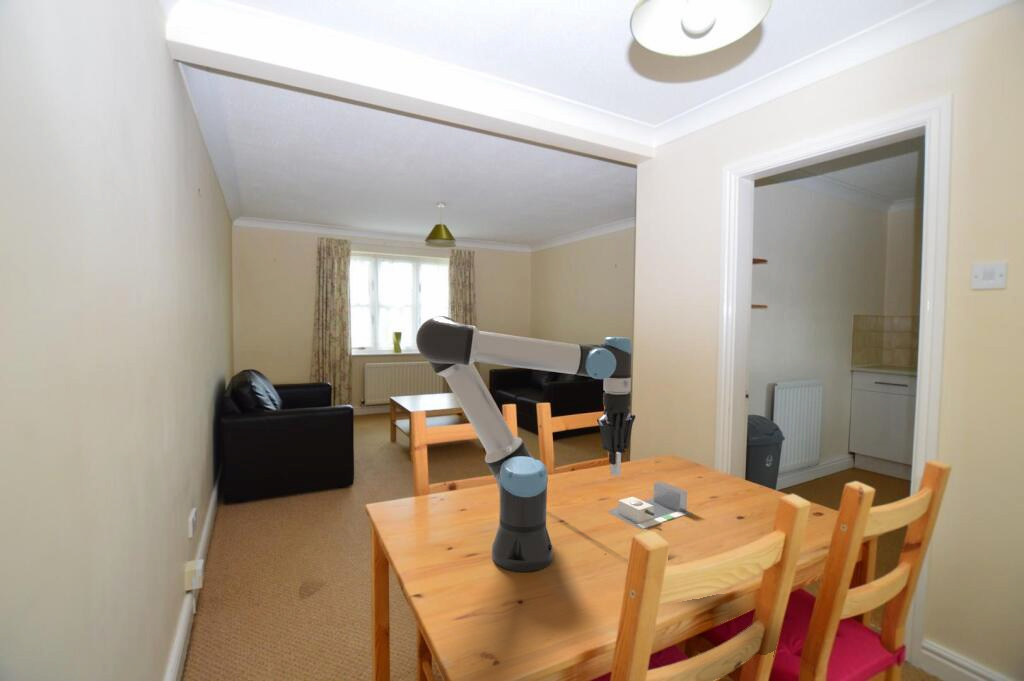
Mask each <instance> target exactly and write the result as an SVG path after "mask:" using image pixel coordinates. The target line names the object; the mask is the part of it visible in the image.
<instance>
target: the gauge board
mask: <svg viewBox="0 0 1024 681" xmlns="http://www.w3.org/2000/svg"><path fill="white" fill-rule="evenodd" d="M653 500H654V497H652V498H647V499H645V500H643V501H644V502H646V503H648V504H651V505H653V513H654V516H653V519H652V520H649V521H646V522H642V523H639V524H638V523H636V522H634V521H632V520H630V519H628V518H626V517H624V516H622V515H620V514H618V507H616V508H612V509H609V510H606V513H608V514H610V515H612V516H615V518H618V519H621V520H622V521H624V522H626V523H628V524H629V525H632V526H633V527H635V528H637V529H639V530H645V529H648V528H652V527H654V526H657V525H659V524H660V525H661V524H664V523H666V522H670V521H672V520H676V519H678V518H681V517H685V516H687V515H690V514H693V512H691V511H689V510H686V511H684V512H677V511H674V510H672V509H670V508H667V507H665V506H663V505H661V504H658V503H656V502H654V501H653Z"/></svg>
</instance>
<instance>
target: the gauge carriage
mask: <svg viewBox="0 0 1024 681" xmlns="http://www.w3.org/2000/svg"><path fill="white" fill-rule="evenodd" d="M617 508H618V514H620V515H622V516H624V517H626V518H628V519H630V520H632V521H634V522H636V523H638V524H639V523H642V522H646V521H649V520H652V519H653V516H654V513H653V505H651V504H648V503H646V502H644V500H642V499H640V498H637V497H635V496H630V497H626V498H621V499H619V500H618V507H617Z"/></svg>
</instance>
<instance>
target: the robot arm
mask: <svg viewBox="0 0 1024 681" xmlns="http://www.w3.org/2000/svg"><path fill="white" fill-rule="evenodd" d="M415 340H416V341H415V343H416V348H417V350H418V352H419V353H420V355H421V356H422V357H423V358H424V359H425V360H427V361H428V363H429V364H430V366H431V368H432V370H433V371H434V373H435V375H436V376H437V375H438V376H441V377H443V378H444V379H445V381H446V383H447V384H448V386H449V388H450V389H451V392H452V393H453V395H454V397H455V398H456V400H457V402H458V403H459V406H460V407H461V409H462V411H463V412H464V415H465V417H466V418H467V420H468V421H469V423H470V425H471V427H472V428H473V430H474V432H475V434H476V435H477V437H478V439H479V441H480V443H481V445H482V446H483V448H484V449H485V452H486V454H485V458H484V461H485V463H486V465H487V467H488V469H489V470H490V472H491V474H492V475H493V477H494V480H495V481H496V484H497V489H498V492H499V522H498V523H499V524H498V528H497V531H496V534H495V537H494V541H493V543H492V545H491V558H492V560H493V562H494V564H496V565H497V566H499V567H500V568H503V569H505V570H509V571H513V572H520V573H525V572H526V573H529V572H535V571H539V570H543V569H545V568H547V566H549V565H550V564H551V563H552V561H553V554H554V552H553V550H554V548H553V545H552V541H551V539H550V538H551V537H550V535H549V532H548V528H547V503H548V500H547V499H548V495H547V494H548V481H549V480H548V479H549V477H548V470H547V466H546V465H545V463H543V462H542V461H541V460H539V459H536V458H534V457H533V456H532V454H531V453H530V452H529V450H528V448H527V446H526V444H525V442H524V441H523V439H522V438H521V437H519V436H515V435H514V434H513V433H512V430H511V429H510V427H509V425H508V423H507V421H506V420H505V418H504V416H503V415H502V412H501V411H500V409H499V407H498V405H497V403H496V402H495V400H494V398H493V396H492V394H491V392H490V391H489V389H488V387H487V385H486V384H485V381H484V380H483V379H482V377H481V374H480V373H479V371H478V369H477V368H476V366H475V364H474V363H483V364H491V365H499V366H506V367H514V368H521V369H528V370H529V369H531V370H538V371H546V372H552V373H553V372H555V373H562V374H571V375H576V376H581V377H582V376H583V377H589V378H592V379H595V380H603V391H604V392H603V394H602V395H603V397H602V398H603V399H602V401H603V402H602V404H603V407H604V410H603V415H602V416H601V417H598V418H597V419H596V422H597V424H598V426H599V432H600V436H601V437H600V438H601V442H602V448H603V451H606V452H608V462H609V464H610V465H609V474H610V475H612V476H614V477H621V475H622V474H621V473H622V463H623V454H625V453H626V450H628V449H629V446H630V445H629V444H630V440H631V434H632V430H633V426H634V425H633V424H634V421H635V419H636V415H635V414H632V413H630V409H629V408H630V406H631V404H632V402H631V401H632V400H631V397H632V394H631V393H630V392H631V388H632V387H631V386H632V383H631V382H632V358H633V356H632V355H633V353H632V351H633V349H632V346H633V345H632V341H631V340H632V339H630V338H629V337H627V336H625V337H624V336H623V337H622V336H607V337H605V338H603V343H599V344H589V343H585V344H584V343H581V344H580V343H569V342H562V341H555V340H547V339H540V338H533V337H528V336H527V337H526V336H518V335H512V334H505V333H499V332H498V333H497V332H490V331H485V330H484V331H482V330H479V329H478V328H477V326H475V325H472V324H465V323H460V322H457V321H456V320H455V319H453V318H450V317H448V316H443V315H441V316H435V317H431V318H429V319H427V320H425V321H424V322H423V323H422V324H421V325H420V326H419V329H418V330H417V333H416V338H415Z"/></svg>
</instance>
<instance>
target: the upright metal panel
mask: <svg viewBox="0 0 1024 681" xmlns="http://www.w3.org/2000/svg"><path fill="white" fill-rule="evenodd" d="M653 498H654V500H653V501H654V502H656V503H658V504H661V505H663V506H665V507H667V508H670V509H672V510H674V511H677V512H684V511H686V510H687V505H688V504H687V503H688V491H687V490H685V489H682V488H680V487H677V486H676V485H675V486H674V485H672V484H670V483H666V482H663V481H656V482H653ZM687 511H688V510H687Z"/></svg>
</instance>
